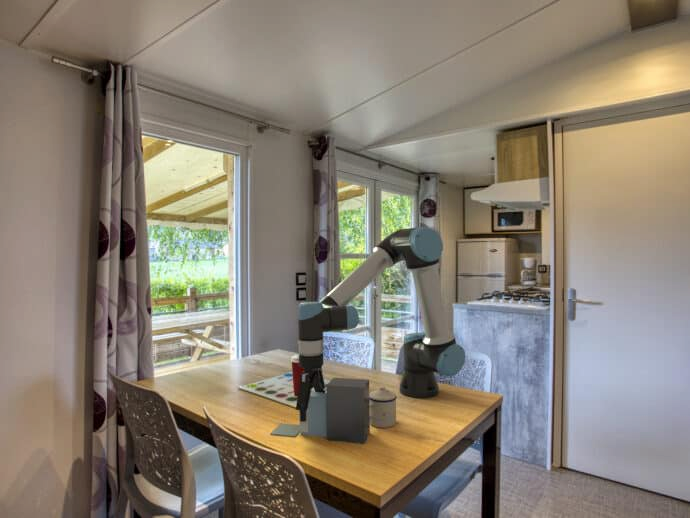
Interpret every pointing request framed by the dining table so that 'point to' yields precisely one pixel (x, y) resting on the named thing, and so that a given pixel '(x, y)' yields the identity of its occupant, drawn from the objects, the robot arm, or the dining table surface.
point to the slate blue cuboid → (317, 415)
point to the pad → (286, 430)
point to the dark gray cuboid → (348, 410)
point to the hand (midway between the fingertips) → (311, 422)
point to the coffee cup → (296, 373)
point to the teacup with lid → (382, 408)
